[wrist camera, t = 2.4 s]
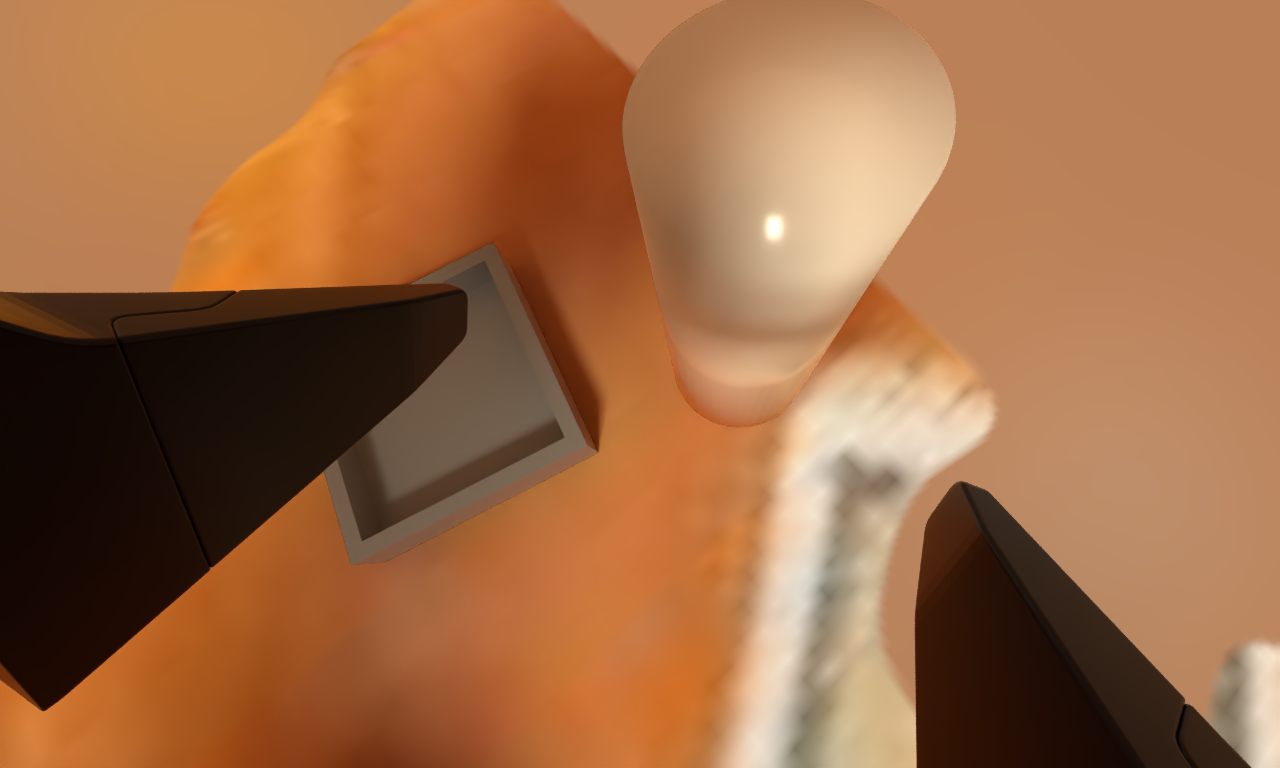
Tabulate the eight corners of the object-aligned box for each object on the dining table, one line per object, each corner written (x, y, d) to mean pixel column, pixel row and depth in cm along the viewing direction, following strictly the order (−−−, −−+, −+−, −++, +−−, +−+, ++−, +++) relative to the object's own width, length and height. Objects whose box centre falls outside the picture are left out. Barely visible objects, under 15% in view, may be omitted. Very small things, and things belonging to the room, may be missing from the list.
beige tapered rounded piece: (829, 389, 20) (1030, 157, 7) (711, 450, 20) (716, 319, 7) (762, 284, 21) (837, -58, 9) (652, 340, 21) (572, 76, 9)
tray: (598, 452, 20) (586, 444, 18) (384, 561, 20) (351, 565, 18) (511, 265, 23) (493, 241, 21) (322, 361, 23) (287, 346, 21)
